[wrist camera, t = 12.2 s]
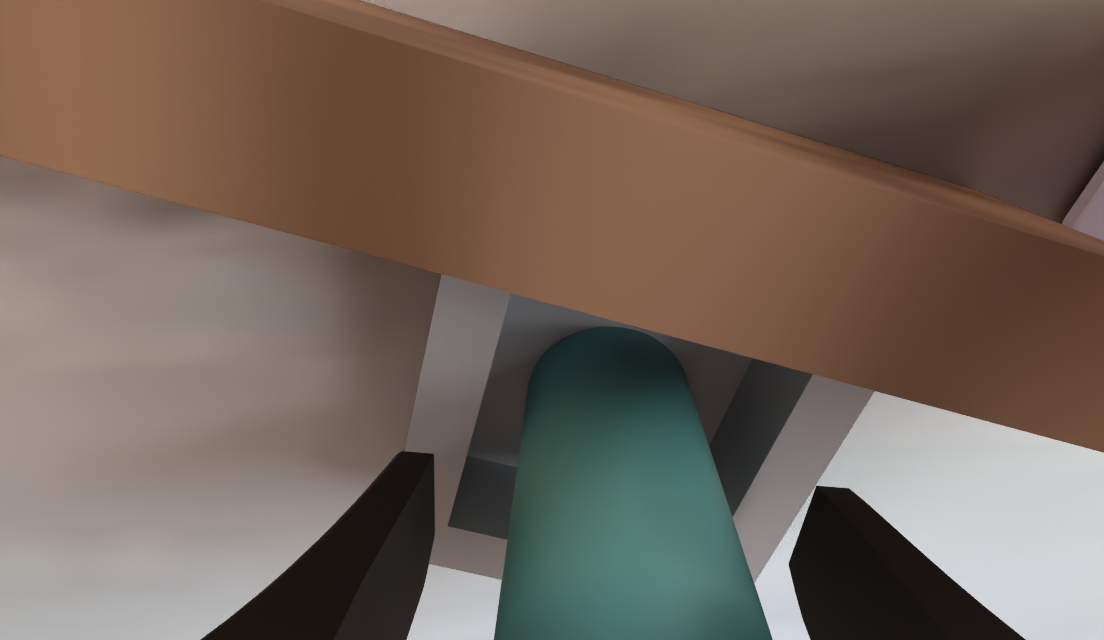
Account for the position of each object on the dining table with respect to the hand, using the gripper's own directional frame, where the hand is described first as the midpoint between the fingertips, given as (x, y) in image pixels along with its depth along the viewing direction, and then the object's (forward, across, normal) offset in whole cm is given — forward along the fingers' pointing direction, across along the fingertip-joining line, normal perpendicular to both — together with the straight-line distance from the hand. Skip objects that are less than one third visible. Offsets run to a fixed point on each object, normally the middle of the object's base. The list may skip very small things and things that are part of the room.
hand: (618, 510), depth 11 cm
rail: (+4, +4, -7) cm, 9 cm away
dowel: (+4, 0, 0) cm, 4 cm away
